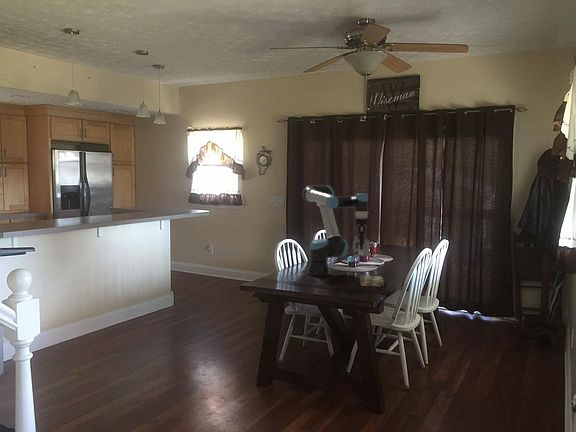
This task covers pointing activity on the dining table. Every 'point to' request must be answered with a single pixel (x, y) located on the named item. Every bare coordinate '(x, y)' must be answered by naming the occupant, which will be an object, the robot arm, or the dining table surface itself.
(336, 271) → the dining table surface
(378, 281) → the stand
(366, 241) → the mug
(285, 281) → the dining table surface
